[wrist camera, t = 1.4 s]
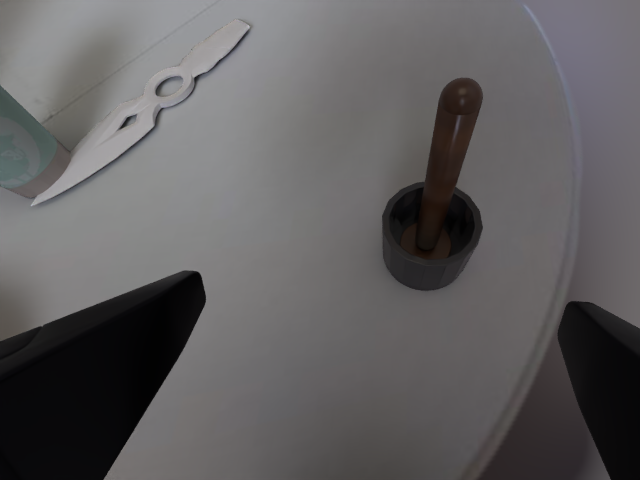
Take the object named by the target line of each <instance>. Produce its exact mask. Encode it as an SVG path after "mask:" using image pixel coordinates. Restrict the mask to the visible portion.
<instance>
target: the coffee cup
mask: <svg viewBox="0 0 640 480" xmlns="http://www.w3.org/2000/svg"><path fill="white" fill-rule="evenodd" d="M70 161H71V156H70V152H69V151H68V150H67V149H66V148H65V147H64V146H63V145H62V144H61V143H60V142H59V141H58V140H57V139H56V138H54V137H53V136H52V135H51V134H50V133H49V132H48V131H47V130H46V129H45V128H44V127H43V126H42V125H41V124H40V123H39V122H38V121H37V120H36V119H35V118H34V117H33V116H32V115H31V114H30V113H28V112H27V111H26V110H25V109H24V108H23V107H22V106H21V105H20V104H19V103H18V102H17V101H16V100H15V99H14V98H13V97H12V96H11V95H10V94H9V93H8V92H7V91H6V90H4V89H3V88H2V87H1V86H0V186H1V187H4V188H6V189H8V190H11V191H13V192H15V193H17V194H20V195H22V196H24V197H37V195H39V194H41V193H43V192H45V191H46V190H47V189H49V188H50V187H51V186H52V185H53V184H54V183H55V182H56V181H57V180H58V179H59V178H60V177H61V176H62V174H63V173H64V172H65V170H66V169H67V167H68V165H69V163H70Z"/></svg>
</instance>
